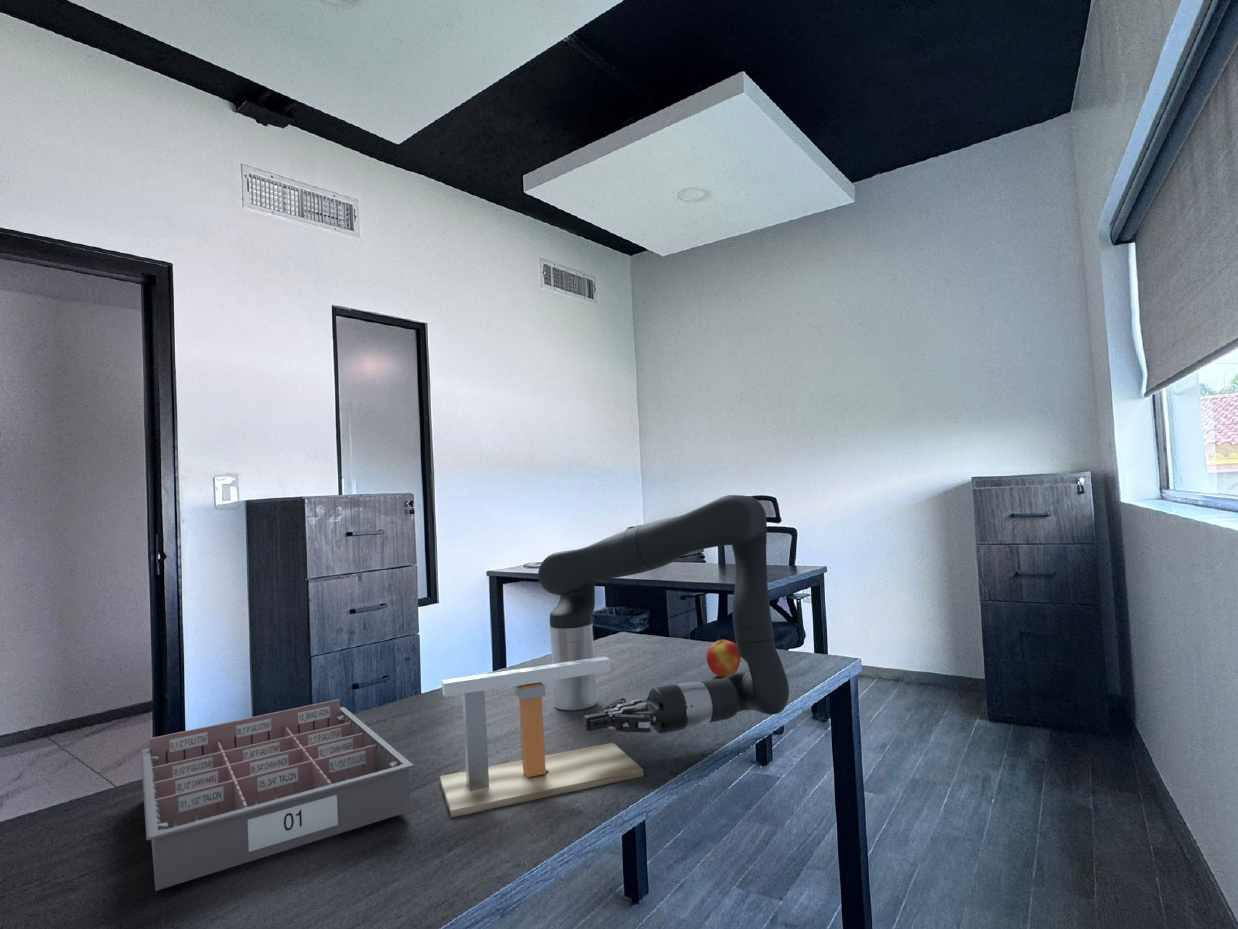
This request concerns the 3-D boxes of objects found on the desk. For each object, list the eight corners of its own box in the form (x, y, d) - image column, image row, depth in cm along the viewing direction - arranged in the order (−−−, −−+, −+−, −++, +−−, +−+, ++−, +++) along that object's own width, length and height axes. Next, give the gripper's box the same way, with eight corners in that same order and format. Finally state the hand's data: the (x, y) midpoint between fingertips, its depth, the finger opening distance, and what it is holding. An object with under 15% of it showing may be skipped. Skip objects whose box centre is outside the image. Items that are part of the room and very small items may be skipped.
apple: (744, 680, 163) (741, 637, 164) (710, 682, 163) (707, 639, 164) (739, 671, 171) (736, 630, 172) (706, 673, 171) (703, 632, 172)
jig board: (440, 782, 113) (439, 775, 113) (613, 748, 124) (612, 742, 124) (451, 817, 100) (450, 810, 100) (643, 776, 111) (643, 769, 111)
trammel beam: (447, 788, 109) (441, 679, 109) (610, 755, 118) (604, 656, 119) (449, 795, 106) (444, 684, 106) (616, 761, 115) (610, 659, 116)
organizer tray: (148, 908, 82) (145, 822, 82) (142, 799, 114) (140, 737, 115) (417, 821, 100) (414, 751, 101) (346, 749, 133) (344, 696, 133)
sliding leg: (519, 770, 113) (514, 682, 114) (543, 765, 115) (538, 679, 115) (524, 779, 109) (520, 688, 110) (549, 774, 111) (544, 684, 111)
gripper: (663, 676, 128) (572, 691, 122) (695, 693, 115) (596, 711, 109) (665, 717, 127) (574, 734, 121) (698, 740, 115) (598, 760, 109)
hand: (585, 723), depth 115 cm, fingers closed
